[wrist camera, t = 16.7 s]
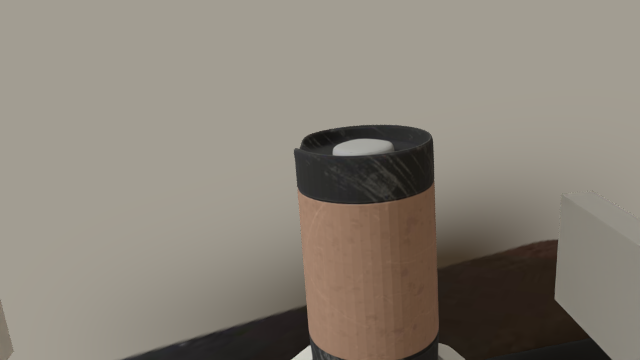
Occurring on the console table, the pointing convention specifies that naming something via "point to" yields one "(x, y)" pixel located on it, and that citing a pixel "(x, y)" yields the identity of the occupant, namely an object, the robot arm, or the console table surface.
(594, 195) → the robot arm
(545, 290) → the console table surface
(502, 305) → the console table surface
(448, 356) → the white and pink ring
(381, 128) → the travel mug
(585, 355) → the cell phone
